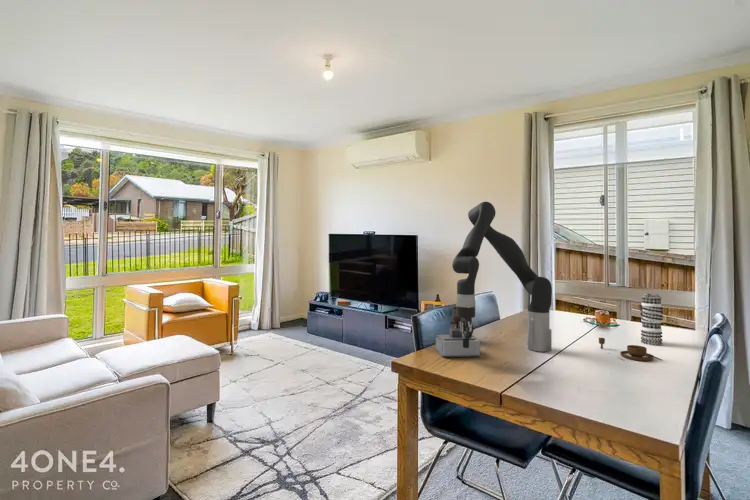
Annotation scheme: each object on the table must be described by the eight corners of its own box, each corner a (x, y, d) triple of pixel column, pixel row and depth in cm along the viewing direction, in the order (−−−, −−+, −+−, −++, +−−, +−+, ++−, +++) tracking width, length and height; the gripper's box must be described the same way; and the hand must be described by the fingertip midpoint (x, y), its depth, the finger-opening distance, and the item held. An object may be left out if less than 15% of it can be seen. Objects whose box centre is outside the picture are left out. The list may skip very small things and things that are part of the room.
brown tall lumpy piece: (458, 346, 182) (458, 304, 183) (441, 342, 191) (441, 302, 192) (479, 342, 191) (479, 302, 192) (462, 338, 200) (462, 299, 200)
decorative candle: (642, 346, 183) (642, 294, 184) (637, 342, 192) (637, 292, 192) (666, 348, 180) (665, 295, 180) (659, 344, 189) (659, 293, 189)
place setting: (626, 362, 159) (626, 348, 159) (595, 350, 179) (595, 337, 179) (667, 361, 160) (666, 347, 160) (631, 349, 180) (631, 337, 180)
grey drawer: (470, 347, 176) (470, 334, 176) (480, 355, 163) (480, 340, 164) (436, 348, 175) (436, 335, 175) (443, 355, 162) (443, 341, 162)
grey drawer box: (469, 349, 178) (469, 327, 178) (479, 356, 165) (479, 333, 165) (435, 349, 176) (435, 327, 176) (442, 357, 163) (442, 333, 164)
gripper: (452, 303, 164) (452, 344, 164) (461, 307, 151) (461, 351, 151) (469, 303, 165) (469, 343, 165) (480, 307, 152) (480, 351, 151)
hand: (465, 347), depth 158 cm, fingers closed
